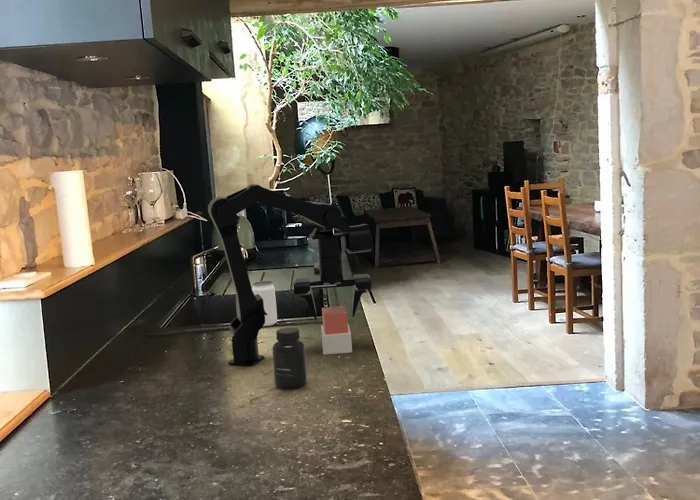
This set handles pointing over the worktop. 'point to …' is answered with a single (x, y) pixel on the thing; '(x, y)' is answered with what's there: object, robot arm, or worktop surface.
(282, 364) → the supplement bottle
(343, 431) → the worktop surface
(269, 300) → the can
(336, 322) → the salmon red block
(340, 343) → the box
